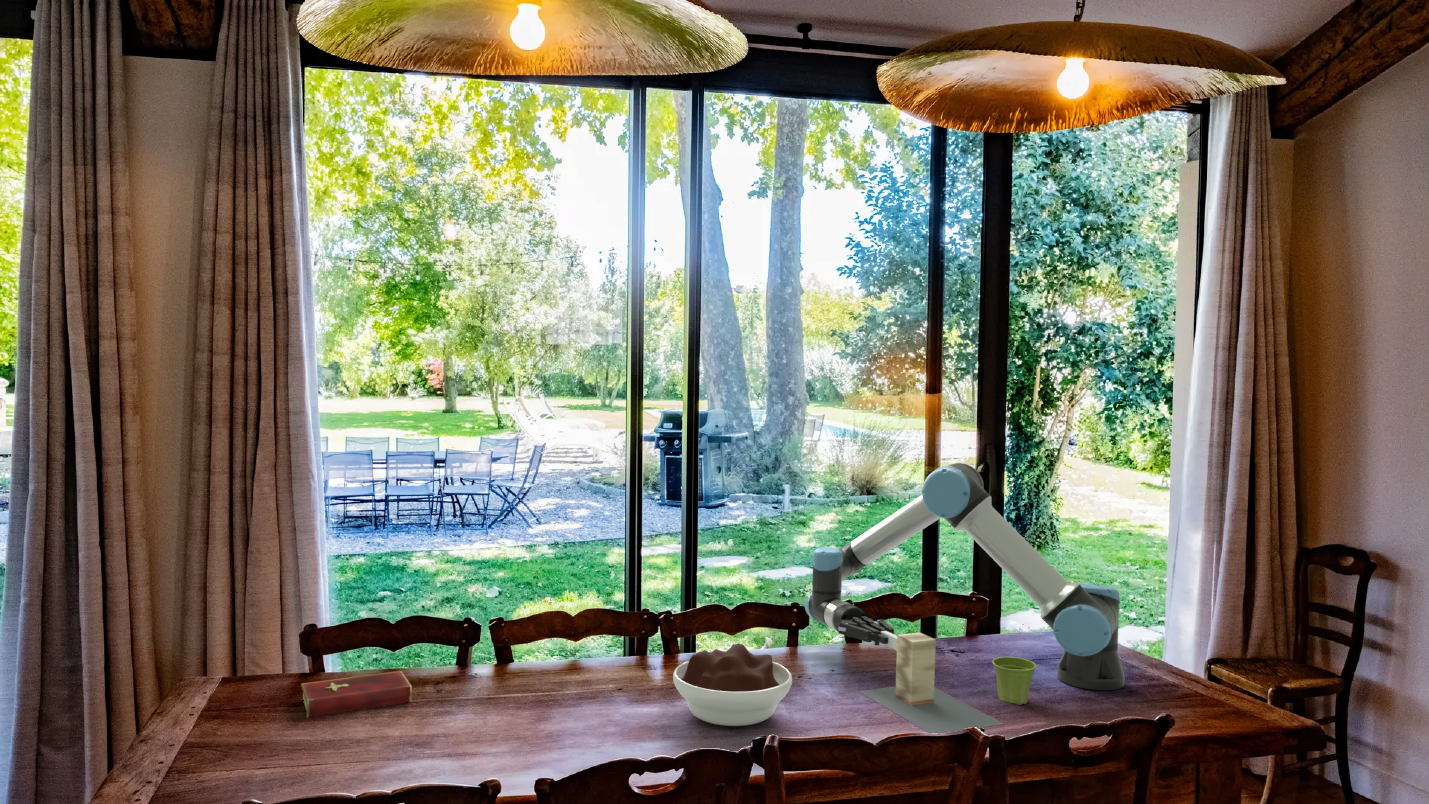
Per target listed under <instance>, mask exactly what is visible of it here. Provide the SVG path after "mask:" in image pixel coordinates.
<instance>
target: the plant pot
mask: <svg viewBox="0 0 1429 804" xmlns="http://www.w3.org/2000/svg"><path fill="white" fill-rule="evenodd" d="M991 662H992V664H993V666H994V671H995V676H996V684H997V695H998V696H997V697H998V699H999V700H1001V701H1002V702H1006V703H1010V704H1016V705H1019V706H1022V705H1023V704H1024V705H1026V704H1027V703H1028V699H1029V693H1030V688H1031V682H1032V677H1033V675H1034V672H1035V670H1036V669H1037V664H1036V663H1035V662H1033V661H1031V660H1029V659H1025V658H1021V657H1014V656H1012V657H1011V656H999V657H996V658H994V659H992V661H991Z"/></svg>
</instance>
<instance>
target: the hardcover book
mask: <svg viewBox="0 0 1429 804" xmlns="http://www.w3.org/2000/svg"><path fill="white" fill-rule="evenodd" d="M300 687H301V690H302V701H303V700H304V701H303V704H304V707H305V710H306V718H309V717H308V716H314V717H318V716H317V715H321V716H325V715H324V714H328V715H333V714H332V713H335V714H339V713H338V712H342V713H345V712H344V711H349V712H353V711H354V710H356V711H360V710H359V709H363V710H367V709H366V708H370V709H374V708H373V707H377V708H380V707H379V706H384V705H385V706H384V707H387V706H386V705H391V706H397V705H396V704H398V705H403V704H402V703H405V704H407V703H406V702H412V703H413V686H412V684H411V683H410V681H409V680H408V678H407V677H406V675H405V674H404V672H403V671H402V670H398V671H390V672H383V673H381V672H379V673H375V674H374V673H373V674H366V675H357V676H350V677H344V678H335V679H328V680H319V681H313V682H312V681H311V682H302V683H300ZM364 708H365V709H364ZM354 712H355V711H354Z"/></svg>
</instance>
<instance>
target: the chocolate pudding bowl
mask: <svg viewBox="0 0 1429 804" xmlns="http://www.w3.org/2000/svg"><path fill="white" fill-rule="evenodd" d="M772 658H773V657H772V655H770V654H768V653H766V654H759V655H758V654H757V655H755V654H753V653H751V652H750V651H749V650H748V649H747V647H746V646H745V645H744V644H742V643H735V644H734V643H732V645H731V646H730V647H729V649H727V651H722V650H719V649H717V648H715V649H714V650H713V651H711V652H709V651H708V650H706V649H704V650H702V651H698V652H697V653H694V654H692V655H691V656H690V658H689V660H687V661H685V662H683V663H681V664H679V665H678V666H677V667H676V668H675V669H674V672H673V674H672V679H673V680H672V681H673V684H674V687H675V688H676V690H677V691H678V693H679V694H680V695H681V697H682V698H683V699H684V700H685V701H686V704H687V706H688V708H689V711H690V713H691V714H692V715H693V716H695V718H698V719H699V720H701V721H703V722H706V723H709V724H713V725H719V726H727V727H742V726H750V725H756V724H758V723H761V722H764V721H766V720H768V719H770V718H771V717H772V716H773V715H774V713H775V710H776V709H777V707H778V704H779V702H781V701H782V700H783V699H784V698H785V696H786V695H787V694H788V693H789V690H790V688H791V687H792V685H793V676H792V673H791V672H790V670H788V668H786V667H785V666H783V665H782V664H780V663H778V662H775V661H773V659H772Z"/></svg>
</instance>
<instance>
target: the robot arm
mask: <svg viewBox="0 0 1429 804" xmlns="http://www.w3.org/2000/svg"><path fill="white" fill-rule="evenodd" d="M941 518H943V519H944V520H945V521H947V523H948V524H949V525H950V526H951V527H952V528H953V529H954V530H955V531H964V532H966V533H967V534H968V535H969V536H970V538H972V539H973V540H974V541H975V543H977V545H978V546H980V548H981V549H983V551H985V553H986V554H987V555H988V556H989V557H990V558H991V559H993V561H994V562H995V563H996V564H997V565H998V566H999V567H1000V568H1001V569H1002V570H1003V572H1005V573H1006V574H1007V575H1008V576H1009V577H1010V578H1011V580H1013V582H1015V583H1016V584H1017V585H1018V586H1019V587H1020V588H1021V590H1022V591H1024V593H1026V595H1028V596H1029V598H1030V599H1031V600H1032V601H1033V602H1034V603H1035V604H1036V605H1037V606H1038V607H1039V609H1040V618H1041V619H1042V621H1044V622H1045V623H1046V625H1048V626H1049V628H1050V629H1051V630H1053V635H1054V638H1055V639H1056V642H1057V643H1058V645H1060V647H1061V648H1063V649H1064V650H1063V652H1062V654H1061V656H1060V660H1059V662H1058V664H1057V667H1056V668H1057V669H1056V677H1057V679H1058V680H1059V681H1061V682H1062V683H1065V684H1068V685H1069V686H1071V687H1072V686H1073V687H1077V688H1081V689H1086V690H1094V691H1112V690H1113V691H1114V690H1119V689H1122V688H1123V687H1124V686H1125V673H1124V669H1123V666H1122V662H1121V659H1120V655H1119V651H1118V650H1119V649H1118V646H1119V620H1120V619H1119V616H1120V604H1121V599H1120V591H1119V590H1118V589H1117V588H1114V587H1111V586H1106V585H1098V584H1097V585H1096V584H1088V583H1078V582H1069V581H1067V580H1066V579H1065V577H1063V576H1062V575H1061V574H1060V573H1059V572H1058V571H1057V569H1055V568H1054V567H1053V565H1051V564H1050V563H1049V562H1048V561H1047V560H1046V559H1045V558H1044V557H1043V556H1042V555H1041V554H1040V553H1039V552H1038V550H1036V548H1034V546H1032V544H1030V543H1029V542H1028V541H1027V540H1026V539H1025V538H1024V537H1023V536H1022V535H1021V534H1020V533H1019V532H1018V531H1017V530H1016V529H1015V528H1014V527H1013V526H1012V525H1011V524H1010V522H1008V521H1007V520H1006V519H1005V518H1004V517H1003V516H1002V515H1001V514H1000V513H999V512H998V511H997V510H996V509H995V508H994V507H993V505H992V496H991V494H990V493H988V492H987V491H986V490H985V489H984V480H983V478H982V476H981V474H980V473H979V471H978V470H977V469H976V468H974V467H973V466H971V465H969V464H968V463H967V464H966V463H961V462H960V463H959V462H958V463H952V464H949V465H945V466H940V467H938V468H935V470H933V471H932V472H931V473H930V474H928V475H927V476H926V478H925V480H924V482H923V484H922V490H921V494H920V495H918V497H916V498H915V499H912V501H910V502H909V503H906V505H904V506H902V507H901V508H900V509H898V510H897V511H895V512H893V513H892V514H890V515H889V516H888V517H886V518H884V519H882V520H881V521H880V522H878V523H877V524H876V525H874V526H872V527H871V528H869V529H868V530H867V531H865V532H863V533H861V535H859V536H858V537H856V538H854V539H853V540H852V541H849V542H848V543H847V544H845V545H844V546H842V547H840V548H838V547H830V546H823V547H817V548H816V549H815V550H814V551H813V558H812V564H811V565H812V588H811V589H812V590H811V592H810V593H809V594H808V596H807V597H806V600H805V602H804V608H805V612H806V614H807V615H808V616H809V617H810V618H811V619H813V620H814V621H815V622H818V623H820V624H823V625H825V626H826V627H829V628H831V629H832V630H834V631H836V632H837V633H838V634H840V635H843V636H845V637H848V638H854V639H857V640H860V641H863V642H866V643H872V642H873V643H874V646H880V644H882V645H884V646H886V647H888V648H890V649H892V650H894V651H896V652H897V635H896V634H895V628H893V627H892V626H891V625H889V624H888V623H887V622H885V619H883V618H879V619H877V620H876V621H874V620H873V618H869V617H867V616H866V614H865V612H864V611H863V610H862V609H861V607H858V606H856V605H854V604H851V603H850V602H847V601H844V600H843V599H842V591H843V590H842V583H843V580H845V579H847V578H849V577H851V576H853V575H856V574H857V573H859V572H860V571H861V570H862V569H863V568H866V567H867V566H868V565H869V564H872V563H873V562H874V561H876V560H877V559H879V558H881V557H882V556H883V555H886V554H887V553H888V552H890V551H892V550H893V549H894V548H896V547H898V546H899V545H901V544H902V543H904V542H905V541H908V540H909V539H910V538H911V537H913V536H914V535H916V534H918V533H919V532H921V531H922V530H925V529H926V528H927V527H928V526H930V525H932V524H933V523H935V522H937V521H938V520H940V519H941Z"/></svg>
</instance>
